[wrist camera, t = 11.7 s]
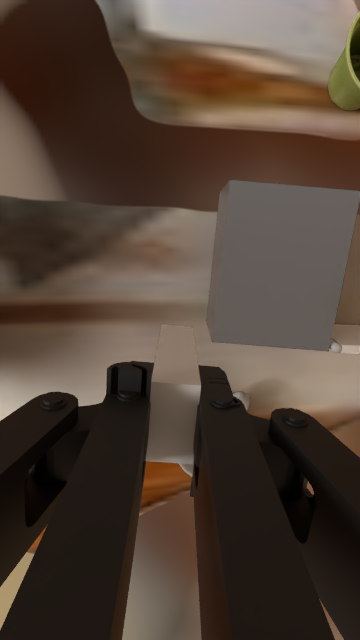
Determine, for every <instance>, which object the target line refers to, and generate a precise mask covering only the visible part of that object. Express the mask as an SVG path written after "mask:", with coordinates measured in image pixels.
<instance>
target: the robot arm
mask: <svg viewBox="0 0 360 640" xmlns="http://www.w3.org/2000/svg"><path fill="white" fill-rule="evenodd" d="M193 455H194V466H193V475H192V483H191V492H190V496H192V497H194V512H195V530H196V548H197V566H198V583H199V602H200V620H201V638H202V640H335V639H334V636H333V634H332V631H331V628H330V626H329V623H328V621H327V618H326V616H325V613H324V611H323V608H322V605H321V603H320V600H321V602H322V604H323V605H324V607H325V608H326V610H327V612H328V613H329V615H330V617H331V618H332V620H333V622H334V623H335V625H336V627H337V628H338V630H339V632H340V633H341V635H342V637H343V638H344V640H360V458H359V457H358V456H357V455H356V454H355V453H353V452H352V451H351V450H350V449H349V448H348V447H347V446H345V445H344V444H343V443H342V442H341V441H340V440H339V439H337V438H336V437H335V436H334V435H333V434H332V433H331V432H329V431H328V430H327V429H326V428H325V427H324V426H322V425H321V424H320V423H319V422H318V421H317V420H316V419H314V418H313V417H311V416H310V415H308V414H306V413H304V412H302V411H300V410H297V409H295V410H294V409H292V408H288V409H287V408H281V409H276V410H274V411H273V412H272V414H271V420H267V419H263V418H259V417H256V416H253V415H250V414H248V413H247V411H246V408H245V406H244V404H243V403H242V401H241V400H239V399H238V398H236V397H234V396H233V394H232V391H231V388H230V385H229V382H228V380H227V376H226V373H225V372H224V371H223V370H221V369H220V368H219V367H211V366H199V365H198V361H197V355H196V348H195V342H194V335H193V329H192V327H190V326H178V325H166V324H162V326H161V331H160V336H159V342H158V347H157V352H156V358H155V363H149V362H137V361H131V362H122V363H116V364H114V365H111V366H110V367H109V368H108V369H107V389H106V396H105V398H104V401H103V402H102V403H99V404H96V405H90V406H80V407H78V399H77V398H76V397H75V396H74V395H71V394H68V393H62V392H49V393H47V394H43V395H40V396H38V397H36V398H34V399H32V400H30V401H29V402H28V403H26V404H25V405H23V406H22V407H20V408H19V409H17V410H16V411H14V412H13V413H11V414H10V415H9V416H7V417H6V418H4V419H3V420H1V421H0V587H1V585H2V584H3V582H4V581H5V580H6V579H7V577H8V576H9V574H10V573H11V572H12V571H13V569H14V568H15V567H16V565H17V564H18V563H19V561H20V560H21V558H22V557H23V556H24V555H25V553H26V552H27V551H28V549H29V548H30V547H31V545H32V544H33V543H34V541H35V540H36V539H37V537H38V536H39V535H40V534H41V532H42V531H43V530H44V528H45V527H46V526H47V528H46V530H45V532H44V534H43V536H42V539H41V541H40V543H39V545H38V548H37V550H36V552H35V554H34V557H33V559H32V561H31V563H30V565H29V568H28V570H27V572H26V575H25V576H24V579H23V581H22V583H21V585H20V588H19V590H18V592H17V594H16V597H15V599H14V601H13V603H12V606H11V608H10V610H9V612H8V614H7V617H6V619H5V621H4V624H3V626H2V628H1V630H0V640H122V635H123V628H124V620H125V613H126V606H127V598H128V591H129V584H130V576H131V569H132V562H133V555H134V547H135V540H136V533H137V526H138V518H139V511H140V504H141V497H142V489H143V482H144V475H145V463H146V461H153V462H167V463H181V464H193ZM308 481H309V483H310V484H311V486H312V488H313V491H314V495H312V494H311V493H310V491H309V490H308V489H307V483H308ZM47 524H48V525H47ZM319 599H320V600H319Z"/></svg>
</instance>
